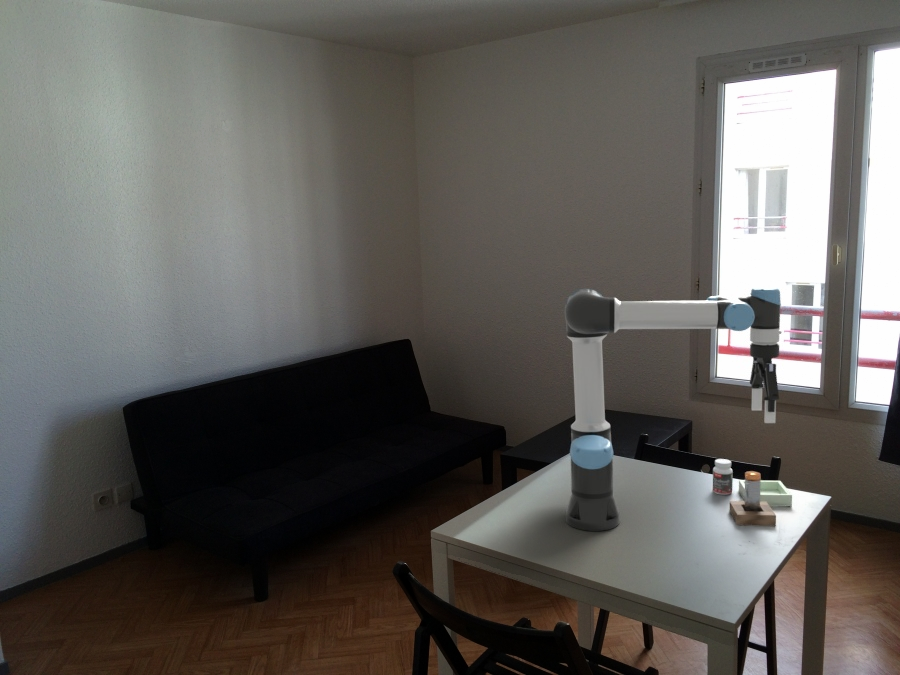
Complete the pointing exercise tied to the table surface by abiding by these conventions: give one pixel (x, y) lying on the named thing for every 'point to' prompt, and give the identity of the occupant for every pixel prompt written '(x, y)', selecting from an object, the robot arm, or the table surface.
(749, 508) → the pin
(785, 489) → the tray
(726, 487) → the pill bottle
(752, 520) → the socket
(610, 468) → the robot arm
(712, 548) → the table surface
